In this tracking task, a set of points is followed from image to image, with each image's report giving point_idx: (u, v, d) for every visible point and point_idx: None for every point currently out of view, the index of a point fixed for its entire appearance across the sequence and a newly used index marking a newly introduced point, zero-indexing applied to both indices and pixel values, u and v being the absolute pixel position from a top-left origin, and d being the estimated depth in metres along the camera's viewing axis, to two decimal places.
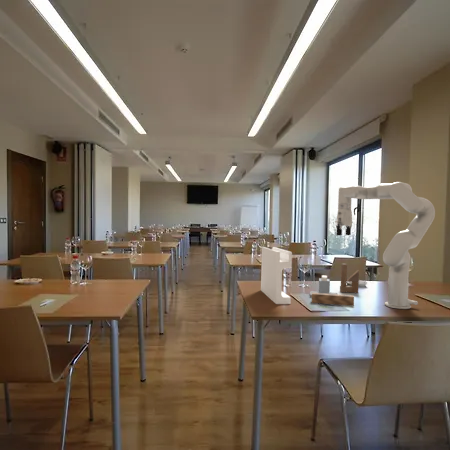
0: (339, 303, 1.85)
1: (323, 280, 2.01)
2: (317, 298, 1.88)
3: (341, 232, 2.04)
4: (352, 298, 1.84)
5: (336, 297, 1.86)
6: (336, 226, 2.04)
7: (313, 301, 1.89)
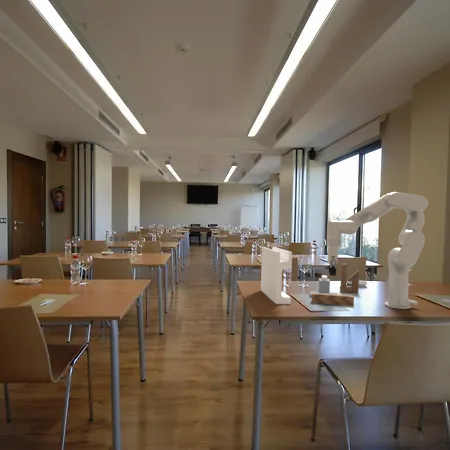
0: (339, 303, 1.85)
1: (323, 280, 2.01)
2: (317, 298, 1.88)
3: (329, 269, 1.93)
4: (352, 298, 1.84)
5: (336, 297, 1.86)
6: None
7: (313, 301, 1.89)
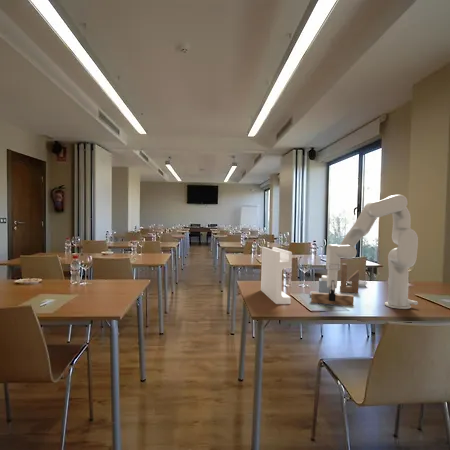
0: (339, 303, 1.85)
1: (323, 280, 2.01)
2: (317, 298, 1.88)
3: None
4: (352, 298, 1.84)
5: (336, 297, 1.86)
6: None
7: (313, 300, 1.89)
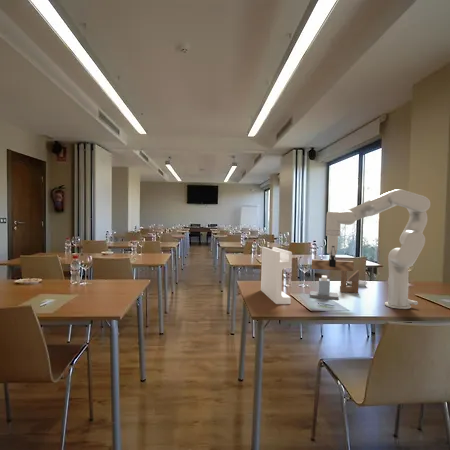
0: (339, 268, 1.87)
1: (323, 280, 2.01)
2: (317, 264, 1.90)
3: None
4: (352, 263, 1.86)
5: (336, 262, 1.87)
6: None
7: (313, 267, 1.90)
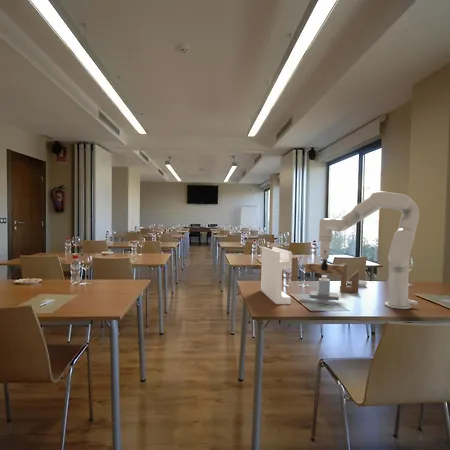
0: (330, 272, 2.02)
1: (323, 280, 2.01)
2: (310, 268, 2.05)
3: None
4: (342, 267, 2.00)
5: (328, 266, 2.02)
6: None
7: (306, 270, 2.05)
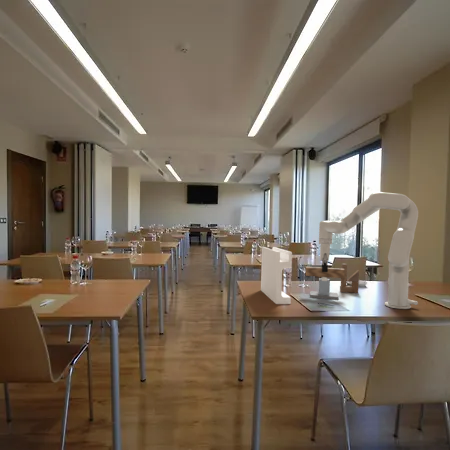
0: (331, 275, 2.02)
1: (323, 280, 2.01)
2: (311, 271, 2.05)
3: None
4: (342, 271, 2.00)
5: (328, 270, 2.02)
6: None
7: (307, 274, 2.05)
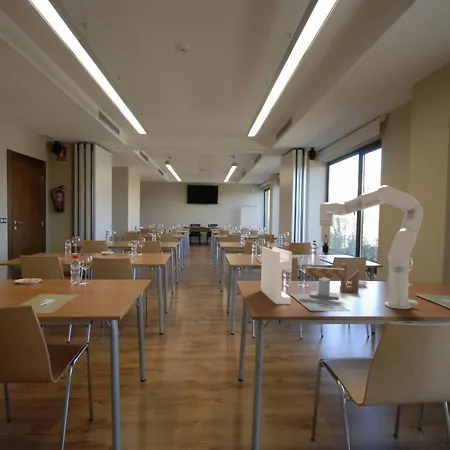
0: (331, 275, 2.02)
1: (323, 280, 2.01)
2: (311, 271, 2.05)
3: (322, 248, 2.09)
4: (342, 271, 2.00)
5: (328, 270, 2.02)
6: None
7: (307, 274, 2.05)
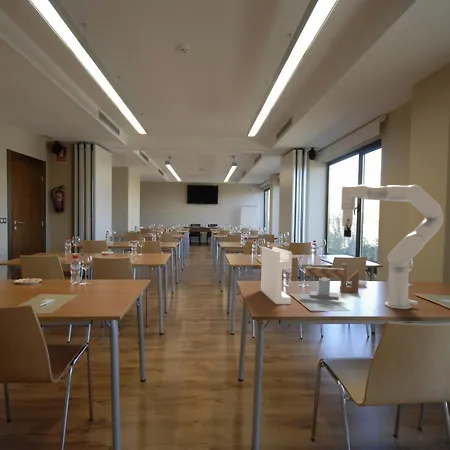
0: (331, 275, 2.02)
1: (323, 280, 2.01)
2: (311, 271, 2.05)
3: None
4: (342, 271, 2.00)
5: (328, 270, 2.02)
6: None
7: (307, 274, 2.05)
